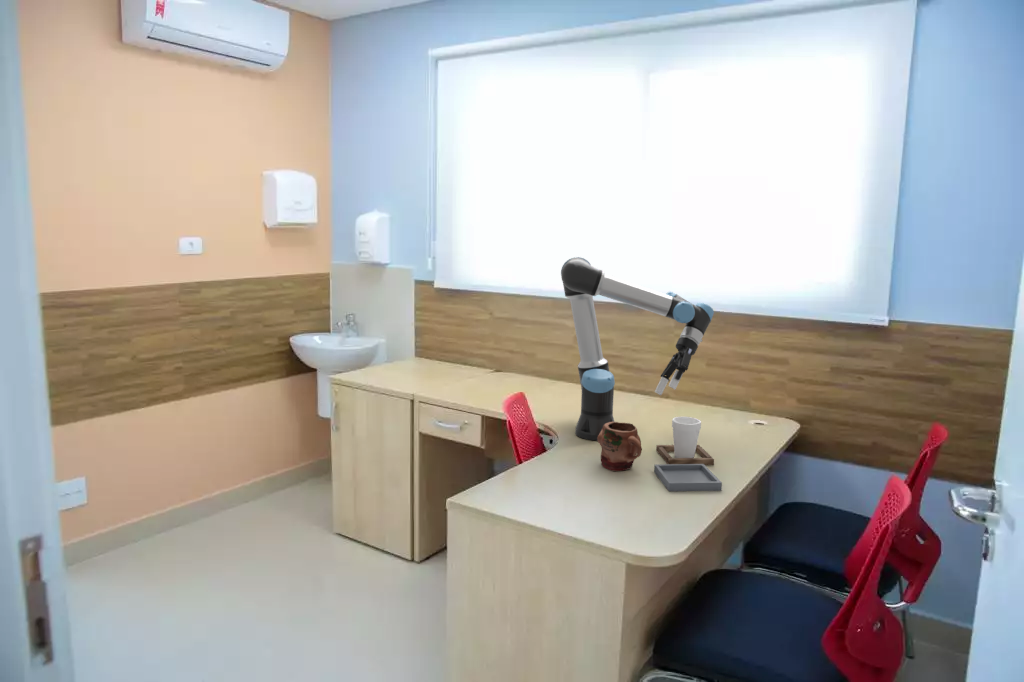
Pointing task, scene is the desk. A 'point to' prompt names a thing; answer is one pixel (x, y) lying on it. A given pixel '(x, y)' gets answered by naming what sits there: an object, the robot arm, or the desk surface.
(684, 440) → the foam cup
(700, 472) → the charcoal tray
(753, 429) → the desk surface
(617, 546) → the desk surface
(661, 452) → the walnut collar
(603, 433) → the sculpted ceramic mug
